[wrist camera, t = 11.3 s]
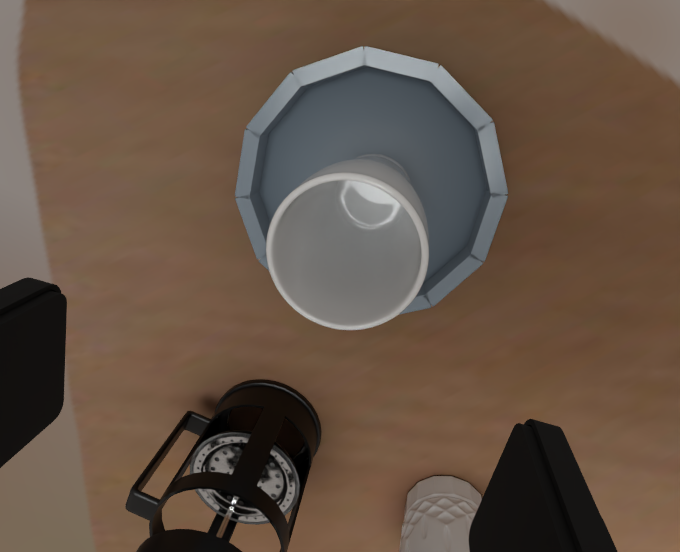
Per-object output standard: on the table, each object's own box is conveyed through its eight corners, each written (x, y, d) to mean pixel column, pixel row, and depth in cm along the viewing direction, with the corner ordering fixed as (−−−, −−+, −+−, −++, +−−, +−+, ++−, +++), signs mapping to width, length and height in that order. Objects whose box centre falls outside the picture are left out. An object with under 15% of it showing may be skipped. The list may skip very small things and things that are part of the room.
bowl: (534, 90, 31) (546, 89, 28) (451, 326, 37) (454, 344, 34) (275, 27, 32) (261, 20, 29) (235, 268, 38) (221, 281, 35)
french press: (345, 411, 41) (271, 755, 19) (304, 490, 44) (203, 856, 23) (216, 353, 41) (-4, 634, 19) (185, 436, 44) (-32, 755, 23)
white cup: (371, 119, 32) (339, 132, 18) (444, 190, 33) (468, 255, 19) (304, 194, 34) (230, 257, 20) (375, 259, 35) (350, 363, 21)
